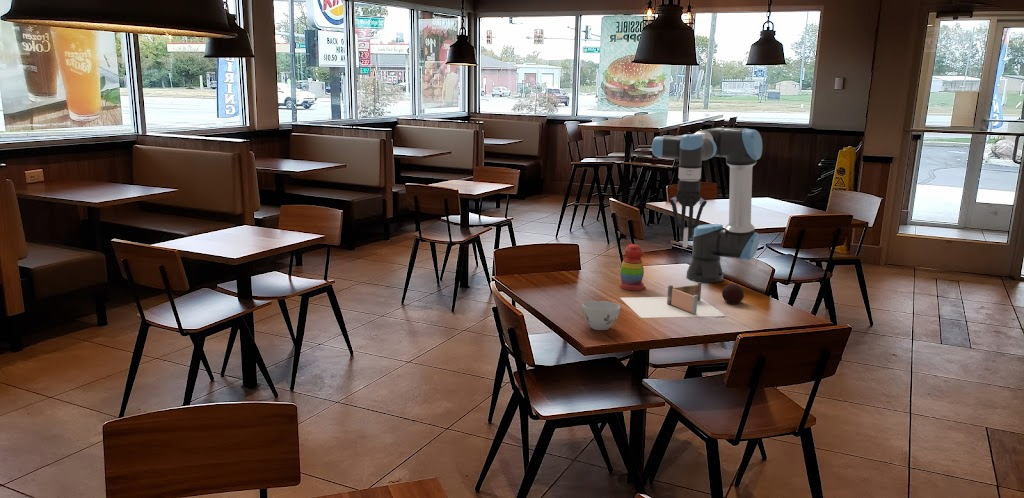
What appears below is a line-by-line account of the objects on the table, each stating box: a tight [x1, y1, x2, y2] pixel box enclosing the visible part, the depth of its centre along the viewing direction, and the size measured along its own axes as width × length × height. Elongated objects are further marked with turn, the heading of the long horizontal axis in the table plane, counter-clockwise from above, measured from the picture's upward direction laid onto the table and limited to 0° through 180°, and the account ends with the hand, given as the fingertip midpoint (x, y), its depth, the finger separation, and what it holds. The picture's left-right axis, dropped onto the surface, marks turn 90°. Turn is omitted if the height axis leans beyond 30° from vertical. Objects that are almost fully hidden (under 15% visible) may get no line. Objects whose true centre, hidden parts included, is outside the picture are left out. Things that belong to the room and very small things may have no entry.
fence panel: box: [671, 289, 698, 314], centre depth 274 cm, size 13×1×7 cm, turn 27°
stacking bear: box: [619, 242, 647, 292], centre depth 305 cm, size 11×10×18 cm
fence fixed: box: [666, 281, 703, 305], centre depth 284 cm, size 16×2×7 cm, turn 118°
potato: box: [721, 283, 745, 305], centre depth 286 cm, size 8×9×8 cm
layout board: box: [620, 296, 727, 319], centre depth 279 cm, size 31×26×1 cm
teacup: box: [581, 300, 621, 331], centre depth 254 cm, size 15×12×8 cm
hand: (685, 246), depth 268 cm, fingers closed
